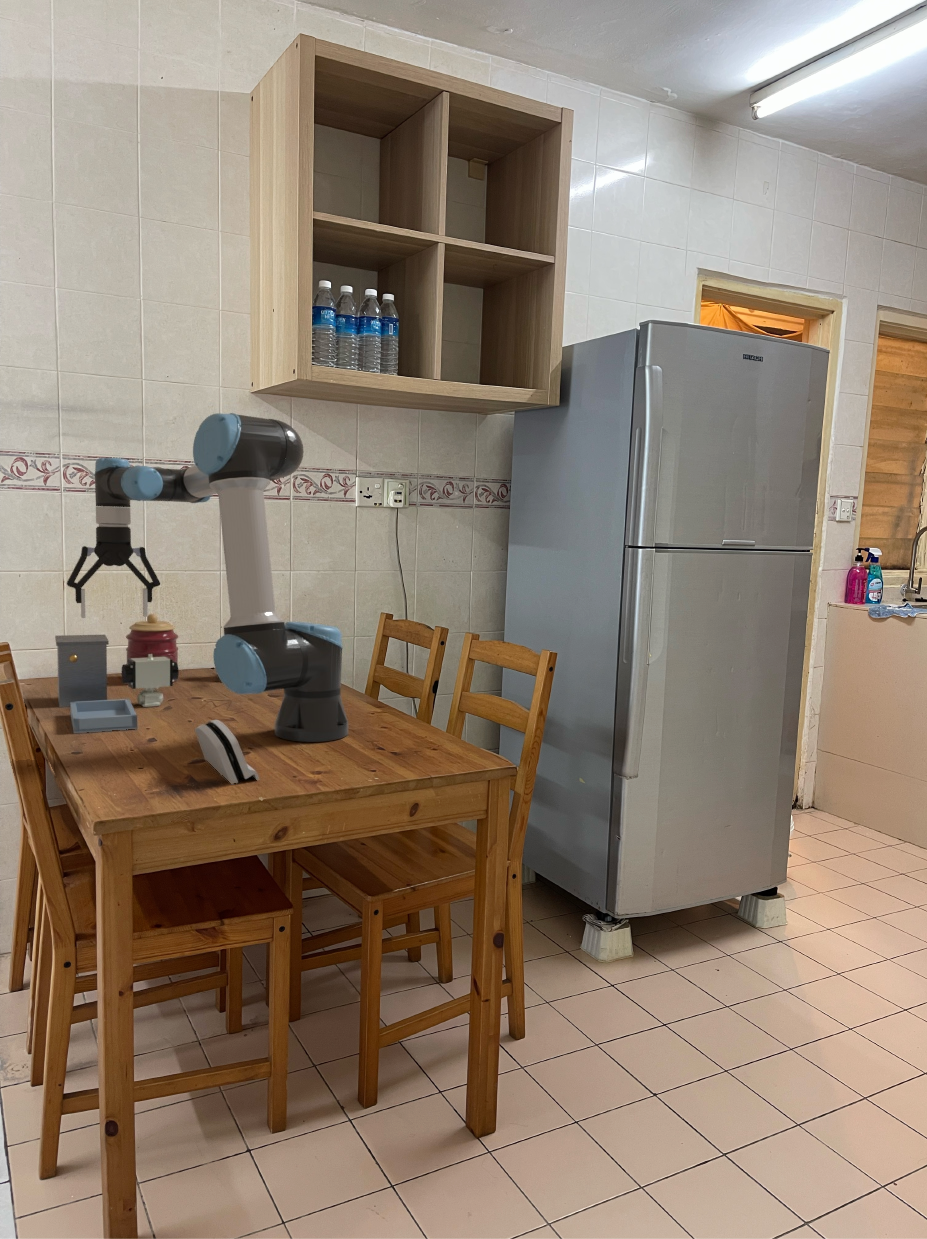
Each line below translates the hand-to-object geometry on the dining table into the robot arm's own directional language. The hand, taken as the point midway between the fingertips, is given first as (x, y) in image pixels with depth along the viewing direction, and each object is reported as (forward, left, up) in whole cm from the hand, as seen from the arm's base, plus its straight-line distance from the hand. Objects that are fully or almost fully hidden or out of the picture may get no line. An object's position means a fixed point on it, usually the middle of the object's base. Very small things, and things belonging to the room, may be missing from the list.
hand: (114, 616), depth 211 cm
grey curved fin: (-67, -13, -20) cm, 71 cm away
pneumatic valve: (-10, -7, -20) cm, 23 cm away
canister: (+20, -11, -20) cm, 30 cm away
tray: (-24, +4, -19) cm, 31 cm away
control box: (-2, +7, -19) cm, 21 cm away
